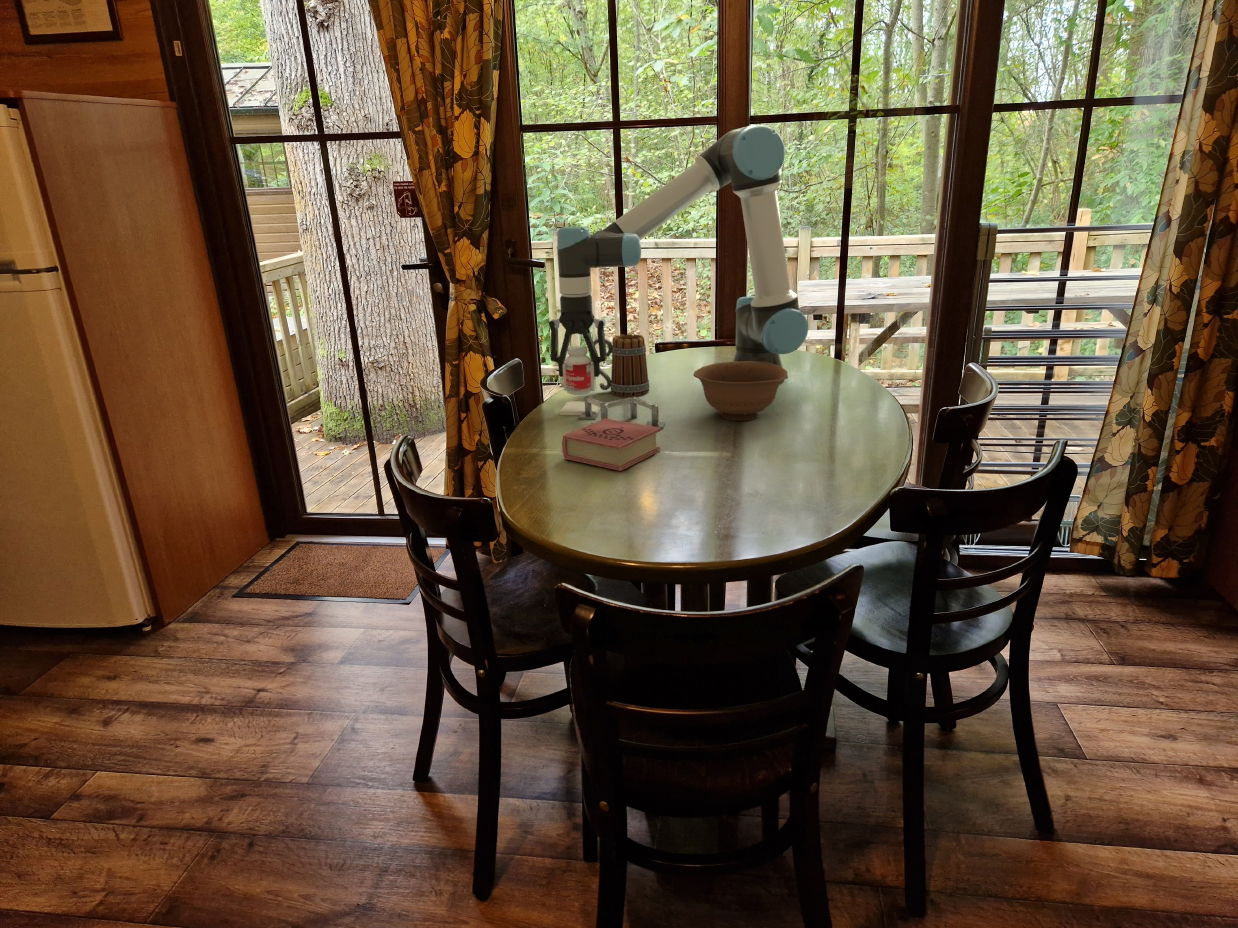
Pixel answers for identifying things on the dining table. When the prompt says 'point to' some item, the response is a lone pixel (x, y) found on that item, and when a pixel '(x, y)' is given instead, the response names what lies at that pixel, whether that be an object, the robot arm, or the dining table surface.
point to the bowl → (740, 387)
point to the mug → (626, 366)
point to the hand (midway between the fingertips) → (580, 389)
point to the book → (610, 444)
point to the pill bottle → (578, 371)
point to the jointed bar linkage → (631, 400)
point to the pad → (577, 408)
